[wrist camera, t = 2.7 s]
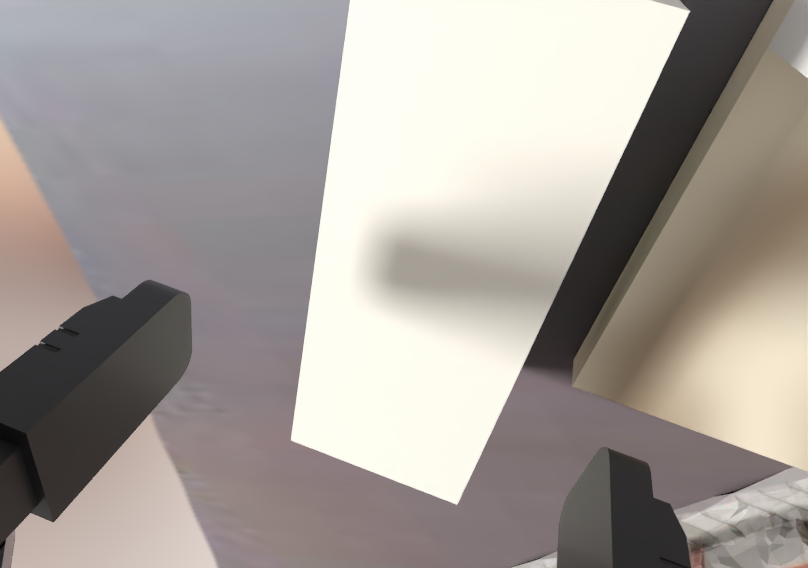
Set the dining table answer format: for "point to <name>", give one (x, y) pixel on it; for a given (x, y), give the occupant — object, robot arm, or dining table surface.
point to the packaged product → (744, 526)
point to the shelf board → (722, 275)
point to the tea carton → (459, 213)
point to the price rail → (793, 37)
